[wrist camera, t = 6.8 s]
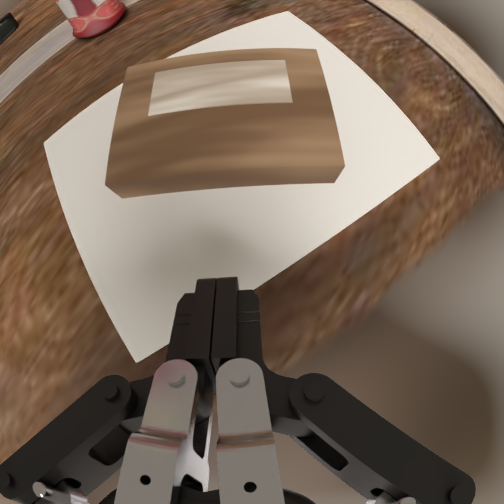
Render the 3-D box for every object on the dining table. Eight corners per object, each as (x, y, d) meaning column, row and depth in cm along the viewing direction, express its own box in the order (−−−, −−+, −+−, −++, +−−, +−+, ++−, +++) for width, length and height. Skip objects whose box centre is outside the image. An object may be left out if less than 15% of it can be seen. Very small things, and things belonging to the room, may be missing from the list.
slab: (345, 165, 15) (316, 48, 17) (103, 184, 15) (127, 66, 17) (334, 183, 18) (311, 71, 20) (122, 198, 18) (138, 86, 20)
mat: (47, 145, 20) (43, 143, 19) (287, 15, 22) (287, 11, 21) (139, 361, 17) (136, 363, 16) (436, 161, 19) (439, 158, 18)
